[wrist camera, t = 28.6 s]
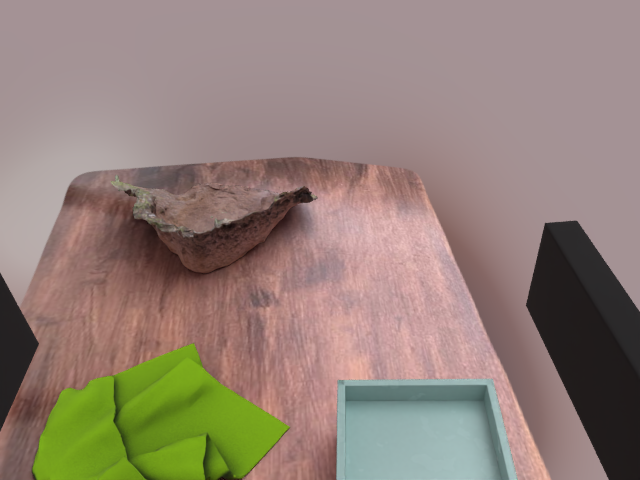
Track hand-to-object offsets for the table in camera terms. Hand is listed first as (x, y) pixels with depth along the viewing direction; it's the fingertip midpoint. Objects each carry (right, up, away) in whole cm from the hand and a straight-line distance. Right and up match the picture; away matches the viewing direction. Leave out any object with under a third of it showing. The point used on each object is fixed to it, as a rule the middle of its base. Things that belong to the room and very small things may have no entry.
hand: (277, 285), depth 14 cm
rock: (-12, +2, +60) cm, 61 cm away
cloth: (-13, -17, +37) cm, 42 cm away
